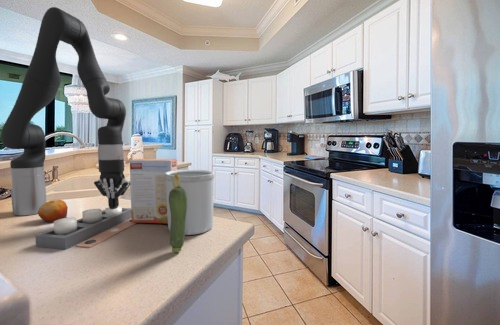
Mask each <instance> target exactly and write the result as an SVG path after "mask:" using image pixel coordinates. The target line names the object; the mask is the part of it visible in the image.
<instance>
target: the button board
mask: <svg viewBox="0 0 500 325" xmlns="http://www.w3.org/2000/svg"><path fill="white" fill-rule="evenodd" d="M131 218H132V216H131V207H128V208H127V207H122V212H121V213H118V214H116V215H112V214H105V209H104V210H103V209H102V220H101V221H99V222H96V223H89V224H88V223H83V217H82V218H79V219H77V231H75V232H73V233H70V234H65V235H55V234H54V228H51V229H49V230H46V231H44V232H41V233H38V234H36V235H34V236H35V248H47V249H56V250H68V249H70V248H72V247H75V245H77V244H79V243H81V242H83V241H85V240H88V239H90V238H92V237H94V236H96V235H98V234H100V233H102V232H104V231H106V230H108V229H110V228H112V227H115V226H117V225H119V224H121V223H123V222H125V221H127V220H129V219H131Z"/></svg>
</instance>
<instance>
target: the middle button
mask: <svg viewBox="0 0 500 325" xmlns="http://www.w3.org/2000/svg"><path fill="white" fill-rule="evenodd" d="M102 211H103V209H101V208H90V209H86V210H83V211H82V212H81V213H82V218H83V223H88V224H89V223H96V222H99V221H101V220H102Z"/></svg>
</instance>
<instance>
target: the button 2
mask: <svg viewBox="0 0 500 325" xmlns="http://www.w3.org/2000/svg"><path fill="white" fill-rule="evenodd" d="M122 208H123V207H122V206H120V205H119V206H118V207H117V208H115V209H110V207H109V206H107V207H105V208H104V210H105V214H112V215H116V214H118V213H121V212H122Z"/></svg>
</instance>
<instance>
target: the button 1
mask: <svg viewBox="0 0 500 325" xmlns="http://www.w3.org/2000/svg"><path fill="white" fill-rule="evenodd" d="M77 220H78V218H76V217H67V218H63V219H59V220H56V221H54V222H53V229H54V234H55V235H65V234H70V233H73V232H75V231H77Z"/></svg>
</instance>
